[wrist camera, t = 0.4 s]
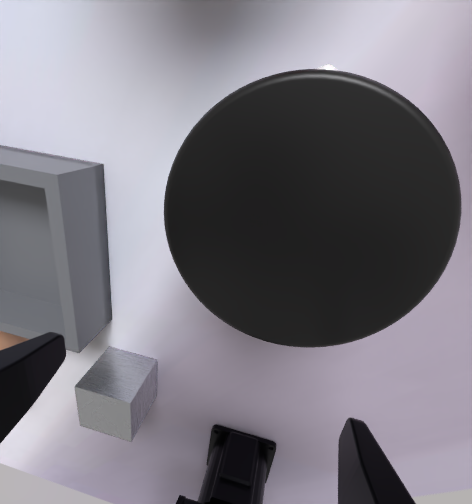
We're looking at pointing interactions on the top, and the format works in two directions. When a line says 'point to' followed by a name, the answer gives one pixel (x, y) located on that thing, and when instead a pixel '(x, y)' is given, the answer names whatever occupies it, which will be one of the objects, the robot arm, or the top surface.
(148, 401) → the steel block
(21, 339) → the ceramic canister
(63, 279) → the tote
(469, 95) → the top surface
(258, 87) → the jar
